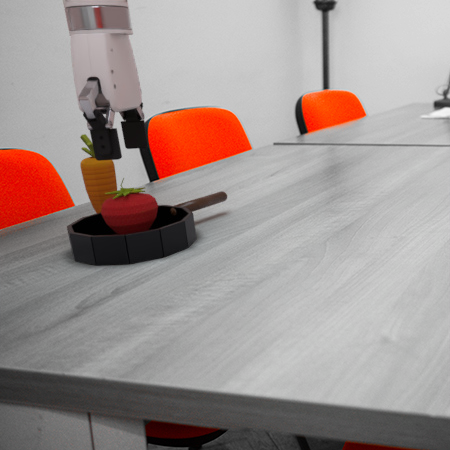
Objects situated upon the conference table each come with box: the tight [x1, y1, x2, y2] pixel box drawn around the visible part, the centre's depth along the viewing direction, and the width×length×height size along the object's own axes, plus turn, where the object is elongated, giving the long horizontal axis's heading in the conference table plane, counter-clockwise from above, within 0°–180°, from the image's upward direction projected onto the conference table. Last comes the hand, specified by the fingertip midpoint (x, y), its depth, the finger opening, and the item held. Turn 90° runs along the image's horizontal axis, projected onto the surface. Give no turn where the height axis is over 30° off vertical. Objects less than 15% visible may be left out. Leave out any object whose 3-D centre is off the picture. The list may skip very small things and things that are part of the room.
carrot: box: [79, 133, 118, 214], centre depth 92 cm, size 5×5×15 cm
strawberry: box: [101, 177, 159, 235], centre depth 82 cm, size 6×8×10 cm
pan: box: [66, 190, 228, 266], centre depth 87 cm, size 27×16×4 cm, turn 153°
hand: (124, 153), depth 80 cm, fingers open, 9 cm apart
